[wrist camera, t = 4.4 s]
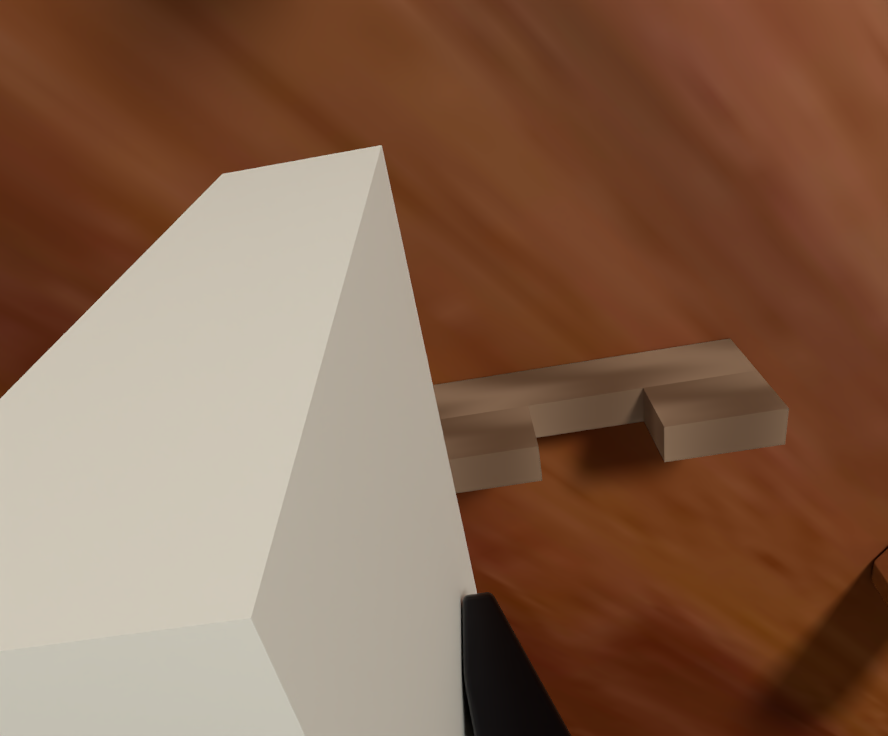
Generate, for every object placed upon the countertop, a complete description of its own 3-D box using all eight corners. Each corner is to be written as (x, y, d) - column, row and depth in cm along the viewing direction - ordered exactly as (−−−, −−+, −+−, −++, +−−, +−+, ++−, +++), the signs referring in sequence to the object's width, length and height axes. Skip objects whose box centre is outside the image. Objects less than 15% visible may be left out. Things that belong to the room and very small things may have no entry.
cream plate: (506, 730, 14) (559, 1286, 8) (411, 741, 15) (396, 1295, 8) (381, 145, 8) (251, 620, 2) (222, 174, 9) (-287, 691, 2)
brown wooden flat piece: (424, 418, 23) (425, 497, 20) (417, 387, 22) (418, 463, 19) (728, 370, 23) (784, 444, 19) (729, 338, 22) (788, 408, 18)
